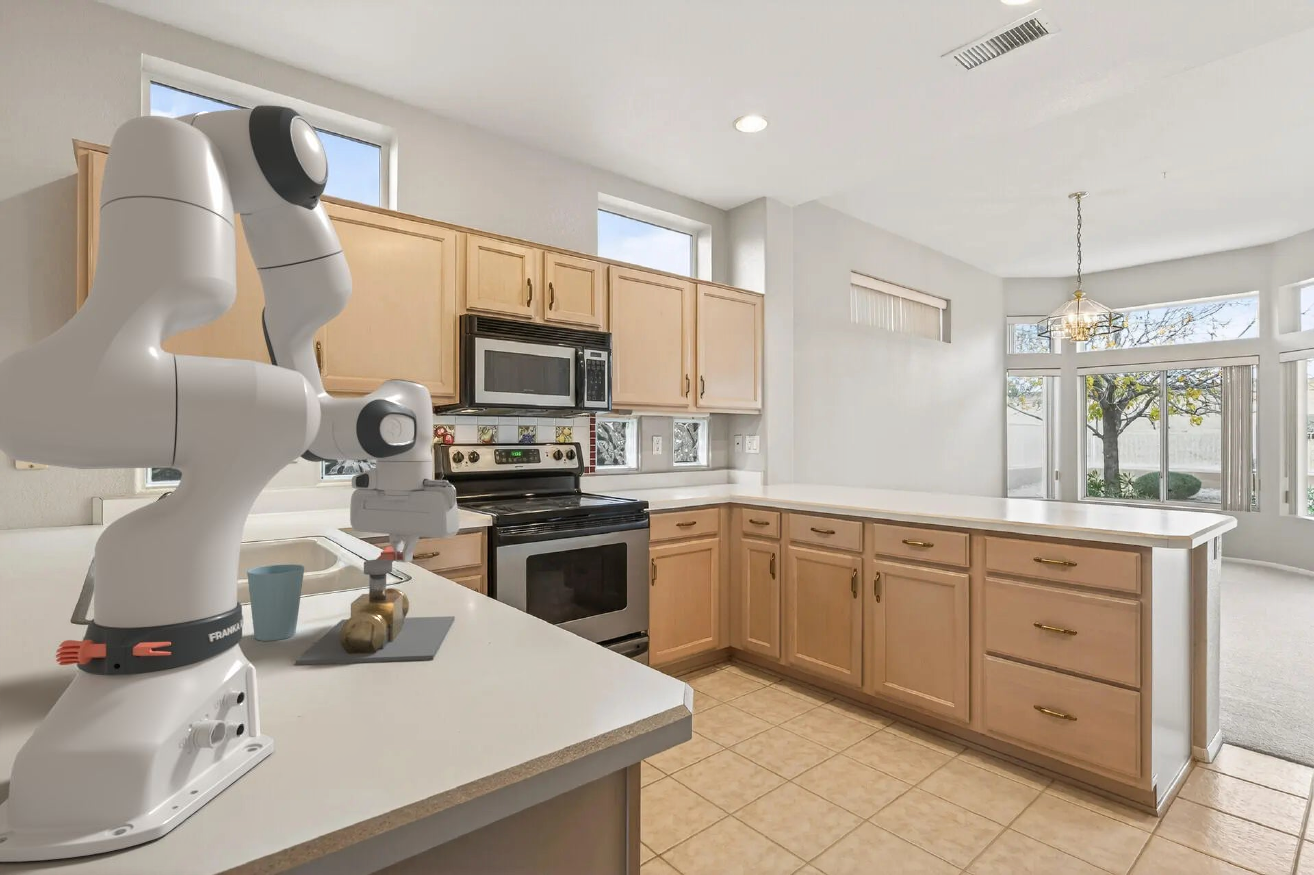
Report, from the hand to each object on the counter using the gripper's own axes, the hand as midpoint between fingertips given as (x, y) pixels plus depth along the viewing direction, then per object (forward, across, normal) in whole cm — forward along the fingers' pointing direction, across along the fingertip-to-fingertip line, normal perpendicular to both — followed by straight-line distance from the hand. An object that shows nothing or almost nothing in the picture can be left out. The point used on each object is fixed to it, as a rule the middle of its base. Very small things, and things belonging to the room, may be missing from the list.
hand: (403, 561), depth 109 cm
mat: (+10, -4, +8) cm, 13 cm away
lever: (0, +1, +3) cm, 3 cm away
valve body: (+10, -3, +8) cm, 13 cm away
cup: (+11, +13, +13) cm, 21 cm away
